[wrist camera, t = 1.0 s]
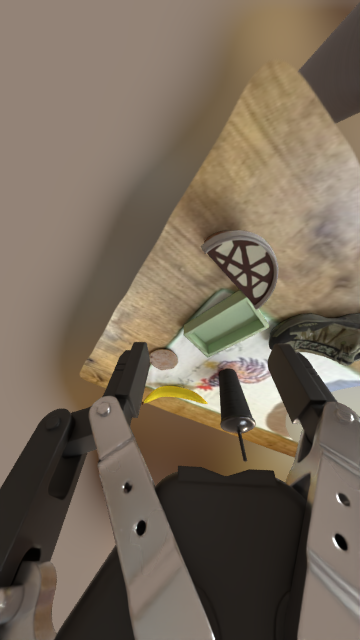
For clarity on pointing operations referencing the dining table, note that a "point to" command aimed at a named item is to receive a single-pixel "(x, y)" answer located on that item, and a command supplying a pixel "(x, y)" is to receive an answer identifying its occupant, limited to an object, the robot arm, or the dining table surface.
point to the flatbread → (163, 359)
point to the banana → (174, 394)
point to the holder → (225, 324)
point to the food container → (245, 262)
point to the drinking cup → (234, 407)
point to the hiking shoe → (321, 336)
